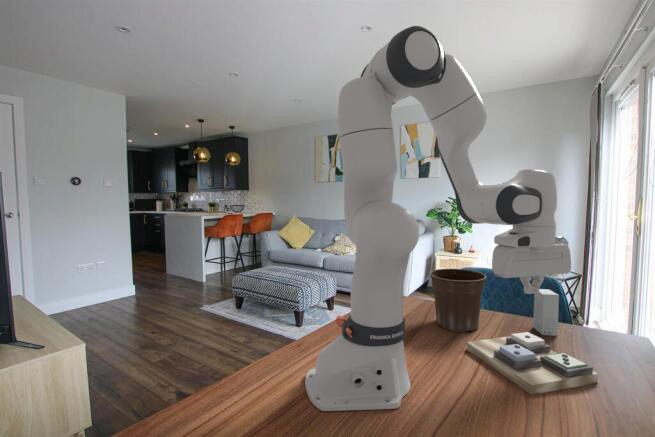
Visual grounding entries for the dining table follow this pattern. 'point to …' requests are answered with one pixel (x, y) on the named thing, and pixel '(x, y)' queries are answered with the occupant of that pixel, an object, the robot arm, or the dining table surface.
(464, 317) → the plant pot
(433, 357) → the dining table surface
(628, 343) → the dining table surface
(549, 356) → the three dot key
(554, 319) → the skincare box
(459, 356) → the dining table surface
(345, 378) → the robot arm
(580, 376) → the key board
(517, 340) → the one dot key
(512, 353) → the two dot key
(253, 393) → the dining table surface
